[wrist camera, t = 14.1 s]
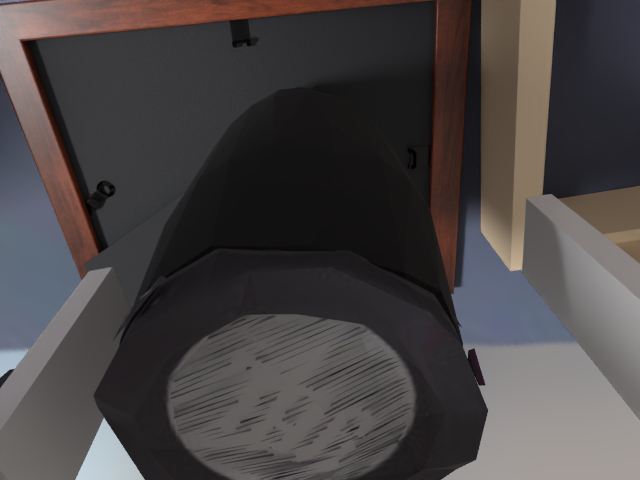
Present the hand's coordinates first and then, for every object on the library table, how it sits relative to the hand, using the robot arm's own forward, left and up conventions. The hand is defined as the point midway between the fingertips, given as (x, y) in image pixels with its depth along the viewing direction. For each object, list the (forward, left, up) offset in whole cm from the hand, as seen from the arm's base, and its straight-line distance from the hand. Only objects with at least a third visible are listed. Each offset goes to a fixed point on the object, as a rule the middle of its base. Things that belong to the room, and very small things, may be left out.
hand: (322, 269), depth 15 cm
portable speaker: (-1, 0, -13) cm, 13 cm away
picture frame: (-4, -1, -15) cm, 16 cm away
